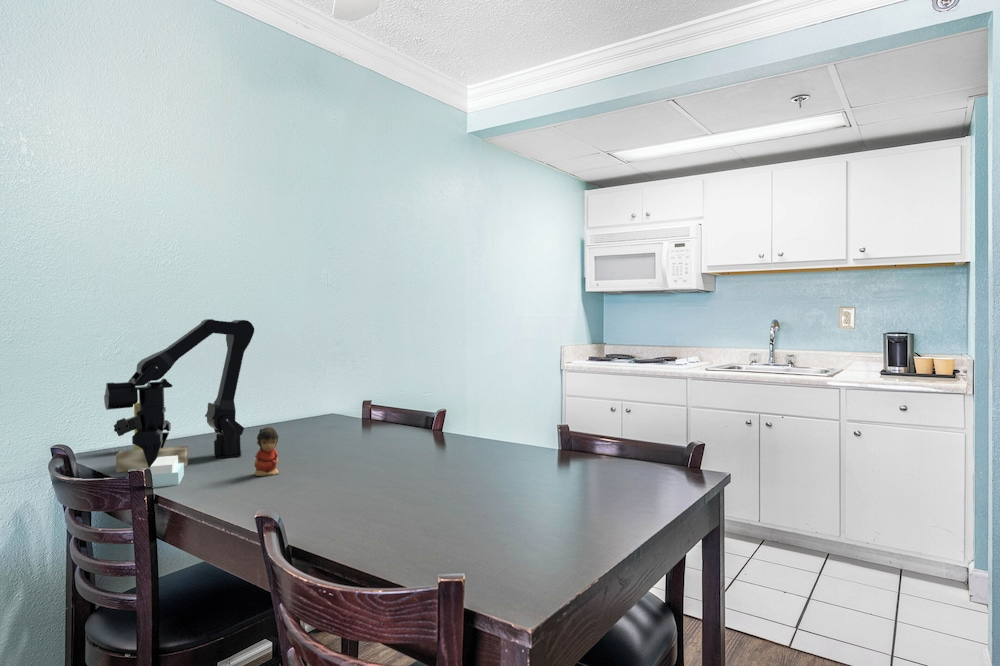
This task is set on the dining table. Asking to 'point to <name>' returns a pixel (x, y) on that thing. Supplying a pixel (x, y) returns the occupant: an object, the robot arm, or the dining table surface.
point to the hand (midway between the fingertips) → (153, 463)
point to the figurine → (266, 452)
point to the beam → (138, 460)
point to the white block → (167, 471)
